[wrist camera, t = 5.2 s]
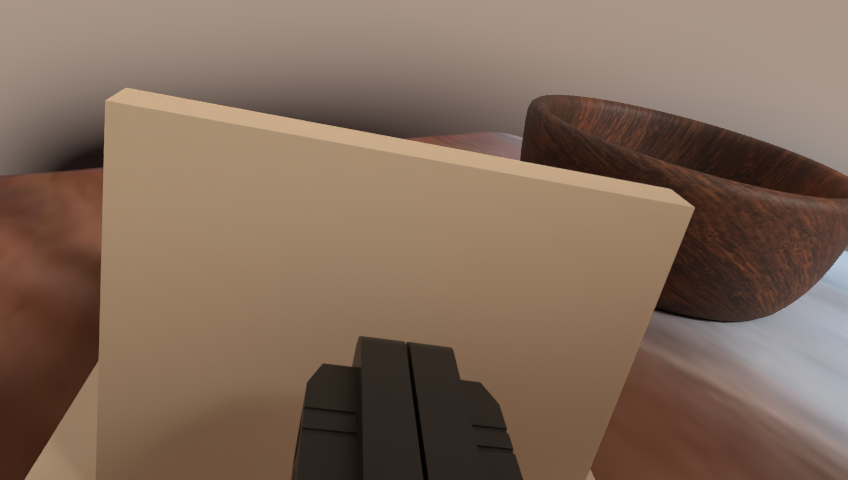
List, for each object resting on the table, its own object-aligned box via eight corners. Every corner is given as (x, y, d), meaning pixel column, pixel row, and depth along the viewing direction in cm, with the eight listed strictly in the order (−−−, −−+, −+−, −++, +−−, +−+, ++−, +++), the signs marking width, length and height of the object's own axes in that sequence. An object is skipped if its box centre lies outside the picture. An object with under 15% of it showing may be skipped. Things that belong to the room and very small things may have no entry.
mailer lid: (613, 556, 15) (763, 219, 12) (20, 510, 13) (5, 82, 10) (477, 234, 32) (523, 59, 29) (210, 190, 30) (228, -4, 27)
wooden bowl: (452, 190, 59) (480, 77, 55) (670, 211, 68) (706, 116, 65) (601, 348, 38) (663, 183, 34) (887, 347, 47) (962, 218, 43)
